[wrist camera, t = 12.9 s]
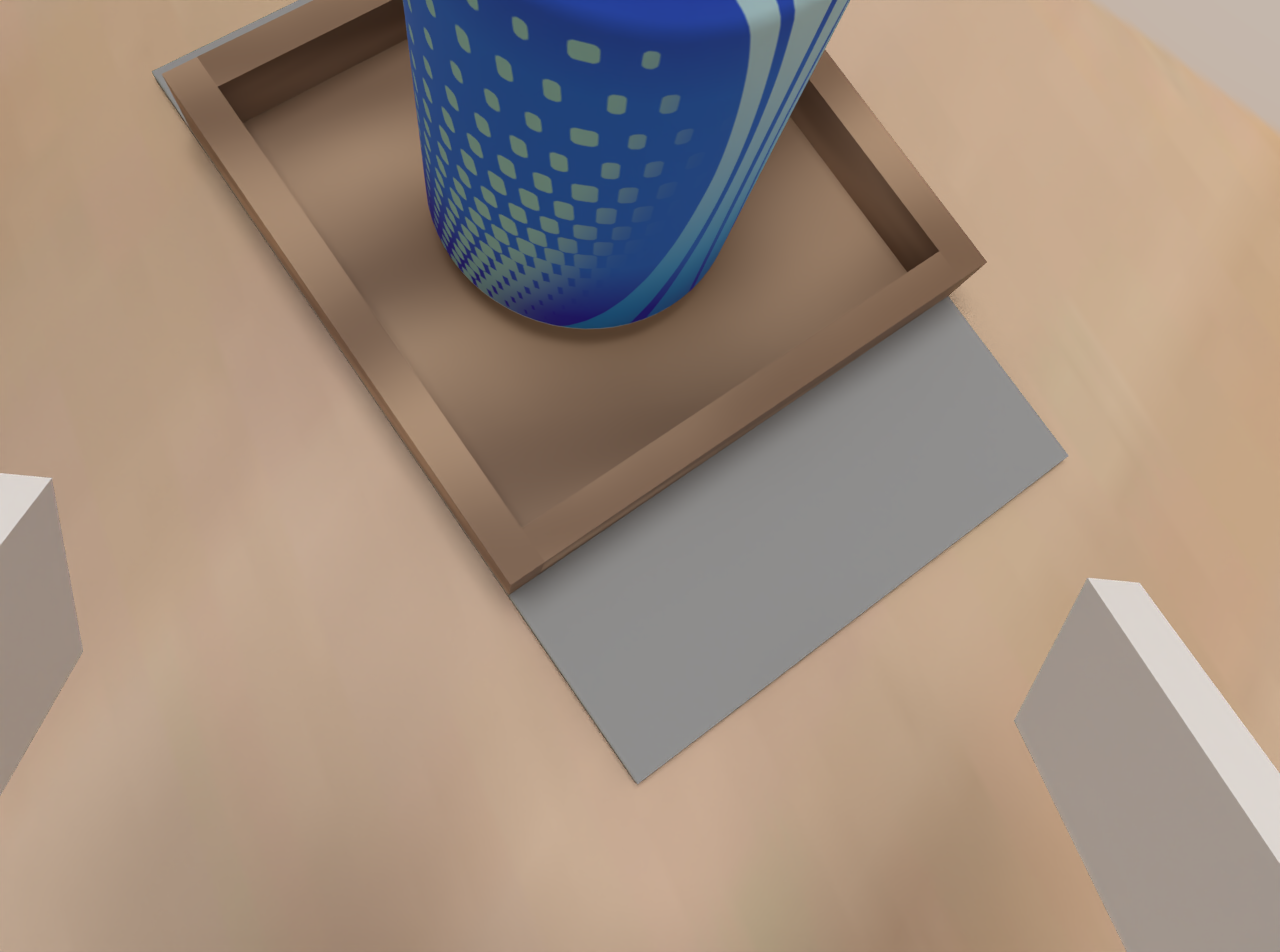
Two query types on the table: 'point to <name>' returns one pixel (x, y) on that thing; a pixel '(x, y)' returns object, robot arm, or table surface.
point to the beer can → (601, 139)
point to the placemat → (776, 530)
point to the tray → (541, 353)
